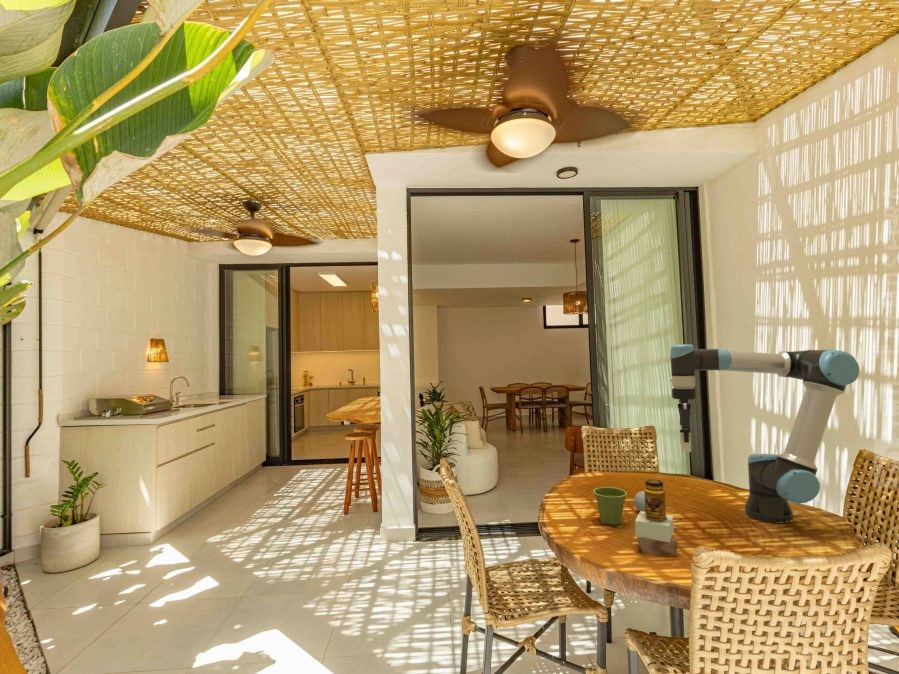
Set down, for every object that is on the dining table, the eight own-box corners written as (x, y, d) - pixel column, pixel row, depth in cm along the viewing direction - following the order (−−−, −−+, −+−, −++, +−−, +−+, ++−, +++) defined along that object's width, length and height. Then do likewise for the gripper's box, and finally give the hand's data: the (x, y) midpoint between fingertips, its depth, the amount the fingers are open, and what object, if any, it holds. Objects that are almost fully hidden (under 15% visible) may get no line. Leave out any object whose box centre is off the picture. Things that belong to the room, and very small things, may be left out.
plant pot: (587, 520, 177) (586, 490, 177) (608, 514, 183) (607, 485, 184) (613, 530, 167) (612, 498, 167) (634, 523, 173) (633, 492, 174)
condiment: (649, 522, 148) (647, 484, 149) (638, 513, 157) (637, 477, 157) (672, 522, 148) (670, 483, 149) (660, 512, 157) (659, 476, 157)
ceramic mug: (651, 518, 178) (650, 497, 178) (633, 511, 185) (633, 492, 186) (670, 513, 183) (669, 493, 183) (652, 507, 190) (652, 488, 190)
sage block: (673, 531, 154) (673, 515, 154) (670, 542, 145) (669, 526, 145) (641, 526, 159) (640, 511, 159) (635, 536, 150) (635, 520, 150)
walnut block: (669, 544, 155) (669, 529, 156) (677, 557, 146) (676, 541, 146) (637, 542, 158) (637, 527, 158) (642, 555, 148) (642, 539, 148)
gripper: (670, 384, 181) (673, 440, 180) (672, 390, 158) (675, 454, 157) (692, 384, 178) (695, 441, 177) (697, 391, 155) (700, 455, 154)
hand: (685, 447), depth 167 cm, fingers open, 13 cm apart
